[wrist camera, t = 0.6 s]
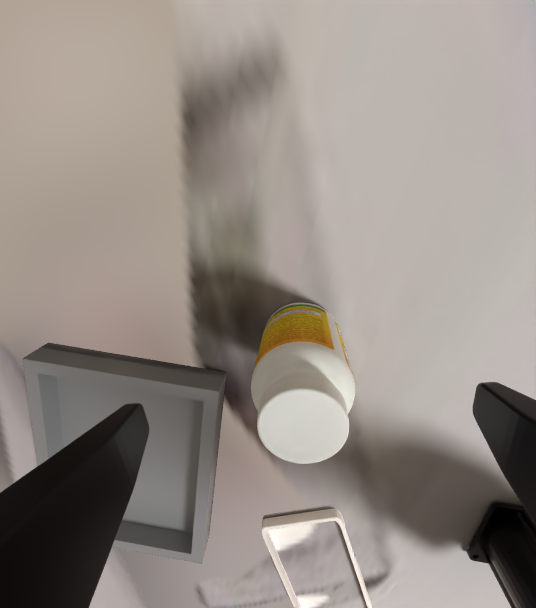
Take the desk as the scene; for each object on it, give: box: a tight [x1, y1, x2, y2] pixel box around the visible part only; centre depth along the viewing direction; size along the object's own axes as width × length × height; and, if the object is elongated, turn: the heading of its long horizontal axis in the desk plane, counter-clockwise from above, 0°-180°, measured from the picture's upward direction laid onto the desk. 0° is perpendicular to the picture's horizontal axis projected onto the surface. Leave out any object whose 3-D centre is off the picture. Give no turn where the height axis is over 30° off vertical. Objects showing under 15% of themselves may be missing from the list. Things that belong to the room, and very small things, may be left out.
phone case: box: [261, 508, 372, 608], centre depth 31 cm, size 7×1×15 cm
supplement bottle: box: [251, 303, 355, 464], centre depth 18 cm, size 5×5×10 cm
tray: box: [22, 343, 227, 564], centre depth 26 cm, size 18×14×2 cm
